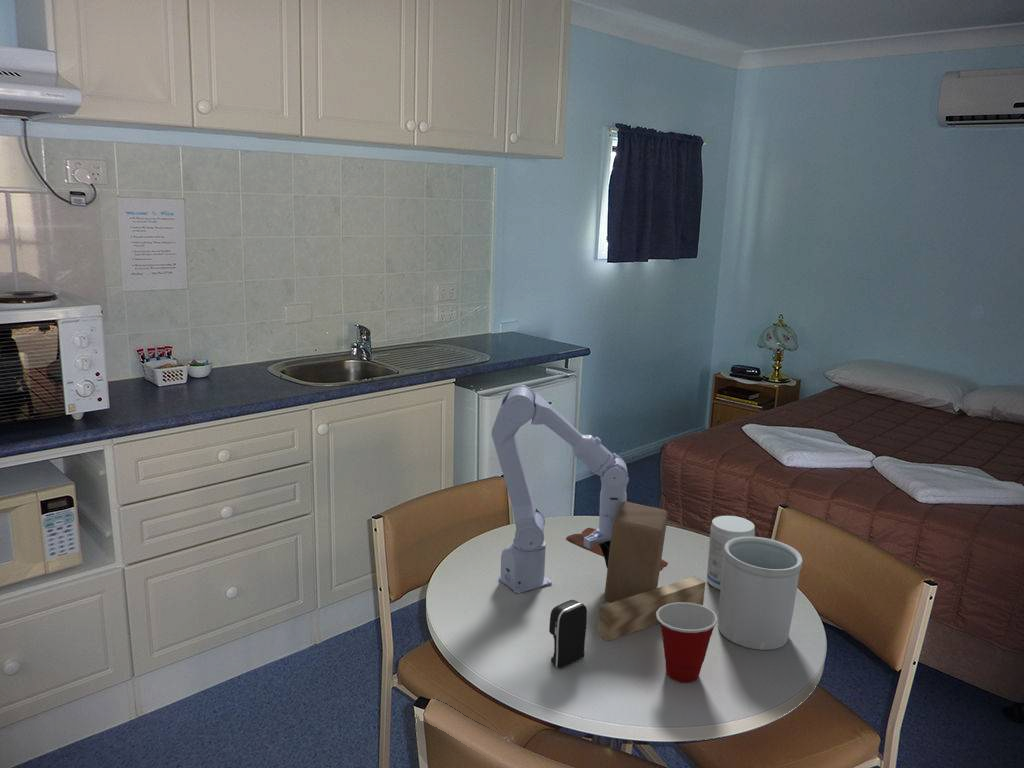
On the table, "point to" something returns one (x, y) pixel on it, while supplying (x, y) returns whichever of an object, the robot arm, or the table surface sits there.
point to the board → (646, 607)
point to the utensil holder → (758, 592)
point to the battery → (568, 632)
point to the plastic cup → (685, 638)
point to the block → (635, 551)
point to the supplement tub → (719, 536)
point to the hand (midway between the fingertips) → (610, 569)
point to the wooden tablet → (579, 541)
